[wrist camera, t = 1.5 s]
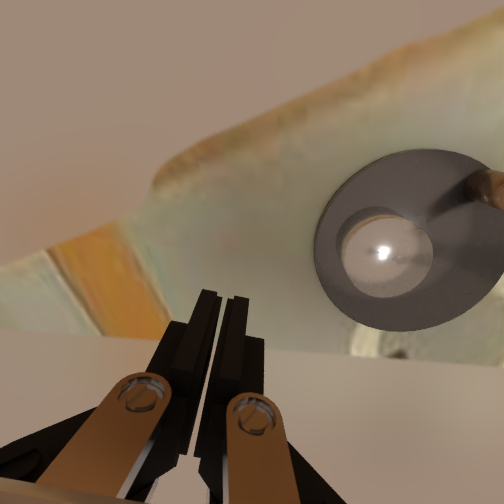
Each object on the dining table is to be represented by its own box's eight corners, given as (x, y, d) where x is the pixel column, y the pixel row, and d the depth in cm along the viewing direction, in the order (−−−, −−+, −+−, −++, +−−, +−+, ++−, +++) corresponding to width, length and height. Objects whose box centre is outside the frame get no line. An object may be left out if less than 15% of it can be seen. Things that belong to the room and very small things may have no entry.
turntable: (546, 173, 25) (627, 187, 19) (456, 340, 31) (498, 387, 25) (346, 128, 24) (370, 128, 19) (294, 306, 30) (299, 347, 25)
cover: (421, 214, 26) (447, 230, 22) (393, 280, 28) (413, 304, 24) (348, 199, 25) (362, 211, 22) (326, 266, 28) (335, 288, 24)
